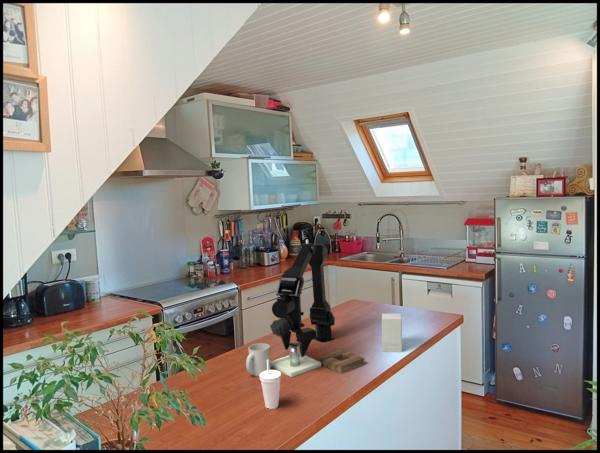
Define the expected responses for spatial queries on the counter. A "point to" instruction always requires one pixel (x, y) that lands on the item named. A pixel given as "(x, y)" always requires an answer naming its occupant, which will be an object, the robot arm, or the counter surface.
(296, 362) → the pin
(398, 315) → the supplement box
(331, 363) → the socket
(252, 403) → the counter surface
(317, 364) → the tray
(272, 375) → the smoothie
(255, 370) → the cup
